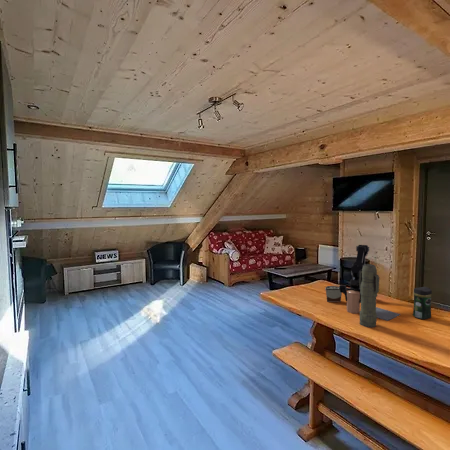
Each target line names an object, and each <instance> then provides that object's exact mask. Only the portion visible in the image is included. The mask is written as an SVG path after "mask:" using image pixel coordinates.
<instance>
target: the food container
mask: <svg viewBox="0 0 450 450" xmlns="http://www.w3.org/2000/svg"><path fill="white" fill-rule="evenodd" d="M324 289H325V290H324V291H325V294H326V302H327V303H341V301H342V295H343V293H342V292H340V290H339V286H338V285H327V286H325V288H324Z"/></svg>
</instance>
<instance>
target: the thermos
mask: <svg viewBox="0 0 450 450" xmlns="http://www.w3.org/2000/svg"><path fill="white" fill-rule="evenodd" d="M377 272H378V271H377V267H376V265H375V264H372V263H365V265H364V266H363V268H362V271H361V272H360V279H359V286H360V294H361V303H360V313H359V325H360V326H362V327H365V328H376V327H377V320H378V318H377V314H376V307H377V298H378V293H379V292H380V275H379V274H378V273H377Z"/></svg>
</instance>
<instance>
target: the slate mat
mask: <svg viewBox="0 0 450 450" xmlns="http://www.w3.org/2000/svg"><path fill="white" fill-rule="evenodd" d="M376 314H377V319H380V320H382V321H386V322H388V321H391V320H392V319H395V318H398V317H400V316H401V313H398V312H395V311H391V310H388V309H385V308H380V307H377V306H376ZM399 315H400V316H399ZM397 316H398V317H397Z"/></svg>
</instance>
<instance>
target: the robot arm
mask: <svg viewBox="0 0 450 450" xmlns="http://www.w3.org/2000/svg"><path fill="white" fill-rule="evenodd" d="M355 250H356V251H355V252H357V253H356V259H355V261H354V262H353V263H352V266H351V268H350V273H351V279H350V280H349V287H347V285H345V284H340V285H339V286H338V287H339V290H340V292H342V295H343V294H344V299H345V301H346V302H347V292H348V290H356V291H359V292H360V286H359V279H360V272H361V271H362V268H363V266H364V265H365V264H366V258H367V256H368V254H369V252H370V246H368V245H367V244H358V245H356V247H355ZM359 303H360V304H361V294H360V302H359Z"/></svg>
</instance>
